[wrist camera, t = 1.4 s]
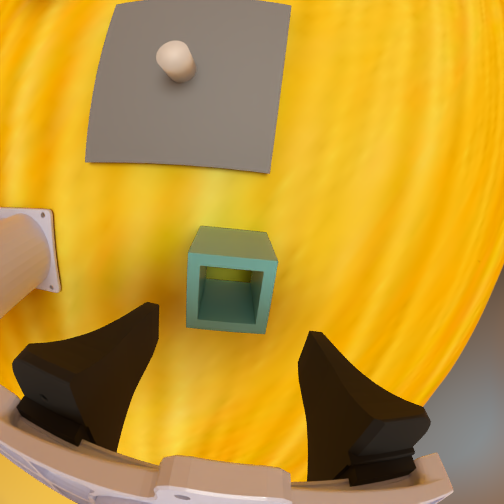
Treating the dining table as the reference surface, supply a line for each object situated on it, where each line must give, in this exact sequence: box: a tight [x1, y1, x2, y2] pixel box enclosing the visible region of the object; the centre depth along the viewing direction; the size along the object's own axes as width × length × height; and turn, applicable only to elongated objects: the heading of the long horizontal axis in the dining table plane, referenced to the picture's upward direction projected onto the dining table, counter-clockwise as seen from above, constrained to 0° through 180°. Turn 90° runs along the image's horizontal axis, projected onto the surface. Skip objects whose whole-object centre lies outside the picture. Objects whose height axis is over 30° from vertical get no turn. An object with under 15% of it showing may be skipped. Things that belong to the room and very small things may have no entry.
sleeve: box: [186, 226, 278, 334], centre depth 19 cm, size 5×5×6 cm
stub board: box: [85, 0, 291, 174], centre depth 15 cm, size 14×14×4 cm
